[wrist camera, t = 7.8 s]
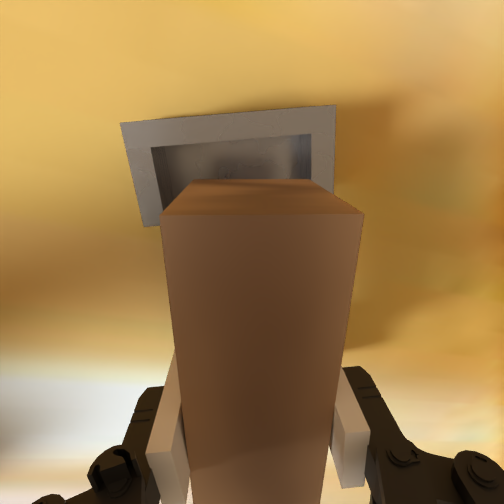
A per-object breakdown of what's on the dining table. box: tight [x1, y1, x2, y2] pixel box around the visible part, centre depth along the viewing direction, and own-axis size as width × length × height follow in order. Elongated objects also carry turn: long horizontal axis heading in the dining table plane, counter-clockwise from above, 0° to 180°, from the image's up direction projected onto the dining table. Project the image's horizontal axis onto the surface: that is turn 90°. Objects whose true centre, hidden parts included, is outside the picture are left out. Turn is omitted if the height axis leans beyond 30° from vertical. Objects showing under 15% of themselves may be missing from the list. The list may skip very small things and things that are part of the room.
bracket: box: [120, 105, 336, 227], centre depth 21 cm, size 11×22×6 cm, turn 5°
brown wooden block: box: [159, 179, 364, 504], centre depth 13 cm, size 5×16×6 cm, turn 0°
